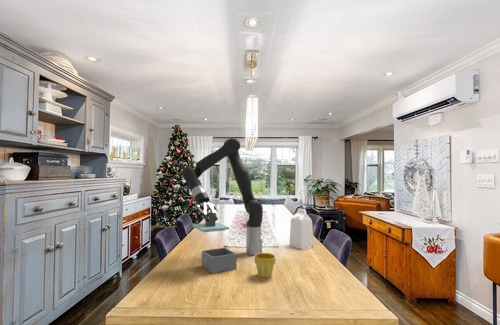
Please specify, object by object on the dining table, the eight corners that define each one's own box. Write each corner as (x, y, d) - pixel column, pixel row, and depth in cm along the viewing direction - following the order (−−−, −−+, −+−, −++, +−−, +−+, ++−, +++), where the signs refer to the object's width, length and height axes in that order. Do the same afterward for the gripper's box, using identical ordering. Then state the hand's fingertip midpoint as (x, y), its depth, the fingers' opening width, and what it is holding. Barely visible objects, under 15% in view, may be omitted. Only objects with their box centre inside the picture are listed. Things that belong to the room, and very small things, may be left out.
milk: (313, 247, 192) (313, 209, 193) (301, 249, 185) (301, 210, 186) (301, 243, 202) (301, 207, 203) (289, 245, 195) (289, 208, 196)
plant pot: (273, 280, 130) (274, 259, 131) (252, 278, 133) (252, 258, 133) (276, 272, 141) (276, 253, 141) (256, 271, 143) (256, 252, 143)
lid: (217, 225, 156) (217, 210, 157) (229, 230, 143) (229, 213, 144) (191, 227, 149) (192, 211, 149) (201, 233, 136) (202, 215, 136)
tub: (224, 261, 157) (225, 247, 158) (236, 269, 145) (236, 253, 146) (201, 265, 150) (201, 250, 150) (211, 273, 138) (212, 257, 138)
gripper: (192, 191, 147) (204, 217, 138) (213, 191, 157) (226, 214, 148) (186, 200, 150) (198, 226, 142) (207, 199, 161) (219, 223, 152)
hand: (212, 220), depth 145 cm, fingers closed on lid, 5 cm apart
